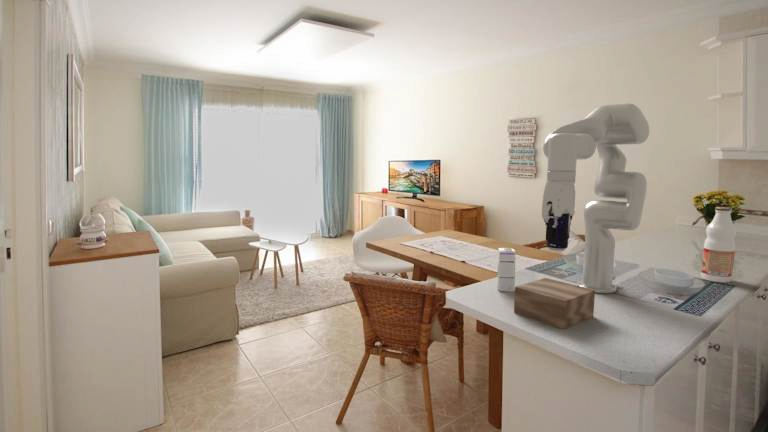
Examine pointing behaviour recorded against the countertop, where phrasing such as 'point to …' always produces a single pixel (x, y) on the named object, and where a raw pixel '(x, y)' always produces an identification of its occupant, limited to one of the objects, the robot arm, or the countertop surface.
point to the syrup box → (506, 269)
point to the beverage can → (561, 233)
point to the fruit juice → (719, 247)
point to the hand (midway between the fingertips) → (557, 239)
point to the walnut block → (554, 302)
